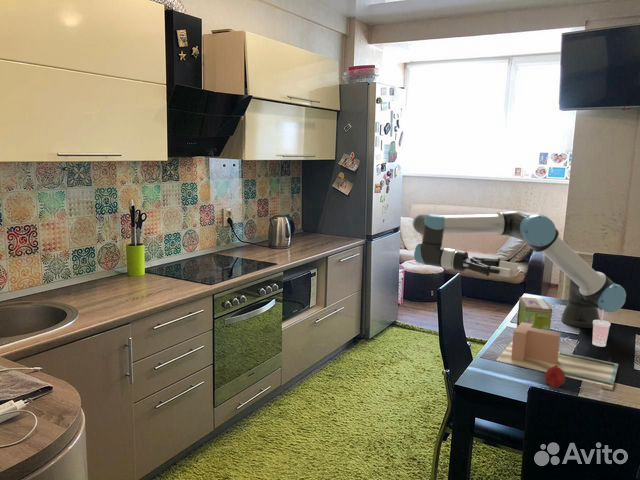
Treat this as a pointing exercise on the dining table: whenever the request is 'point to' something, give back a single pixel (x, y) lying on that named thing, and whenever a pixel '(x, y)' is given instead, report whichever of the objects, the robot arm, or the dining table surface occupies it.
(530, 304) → the tea box
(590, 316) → the robot arm
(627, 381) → the dining table surface
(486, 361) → the dining table surface
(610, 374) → the board
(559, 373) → the red pomegranate
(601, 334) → the beverage cup
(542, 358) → the tee
